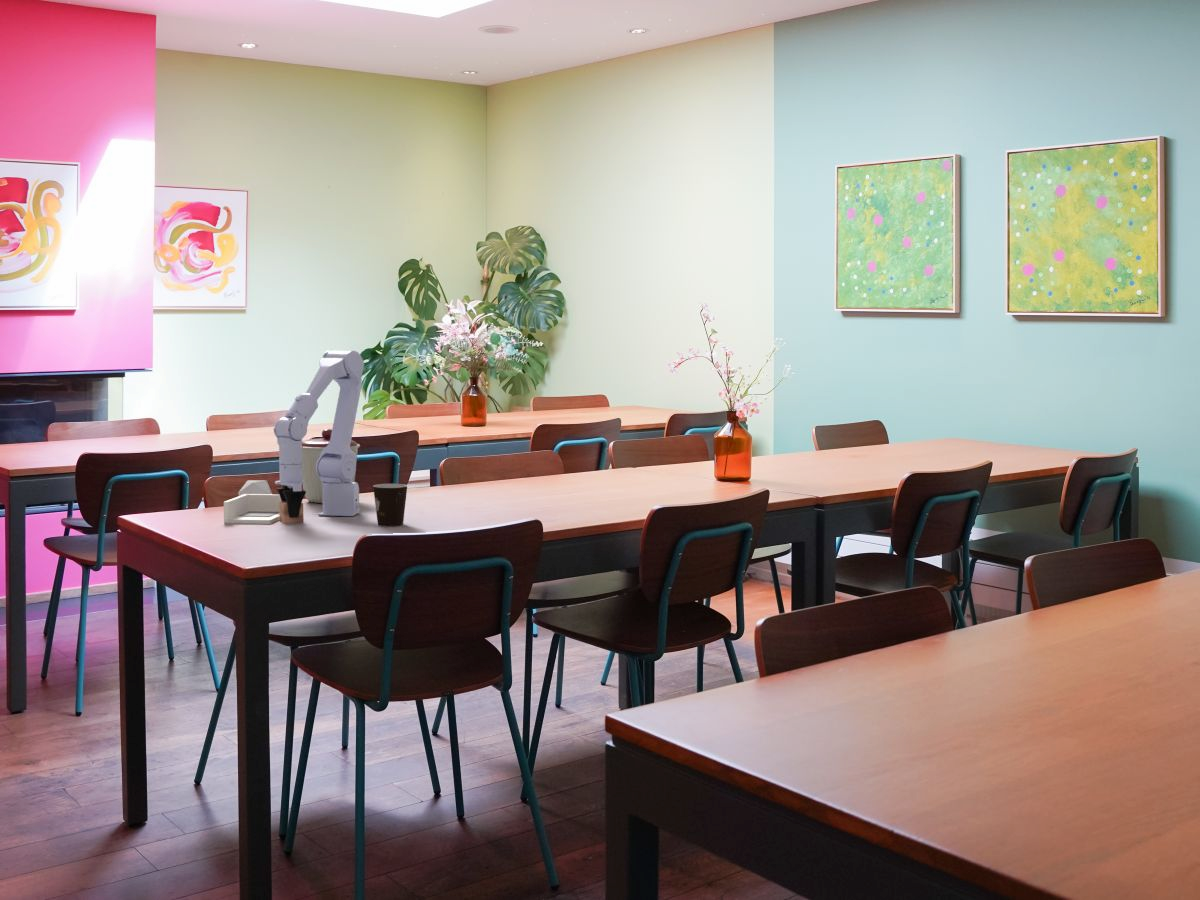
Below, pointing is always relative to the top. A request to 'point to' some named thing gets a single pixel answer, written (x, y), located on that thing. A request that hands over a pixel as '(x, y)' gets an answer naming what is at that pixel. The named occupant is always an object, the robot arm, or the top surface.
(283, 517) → the cube
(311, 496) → the canister
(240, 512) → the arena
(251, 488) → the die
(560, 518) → the top surface
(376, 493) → the coffee mug
